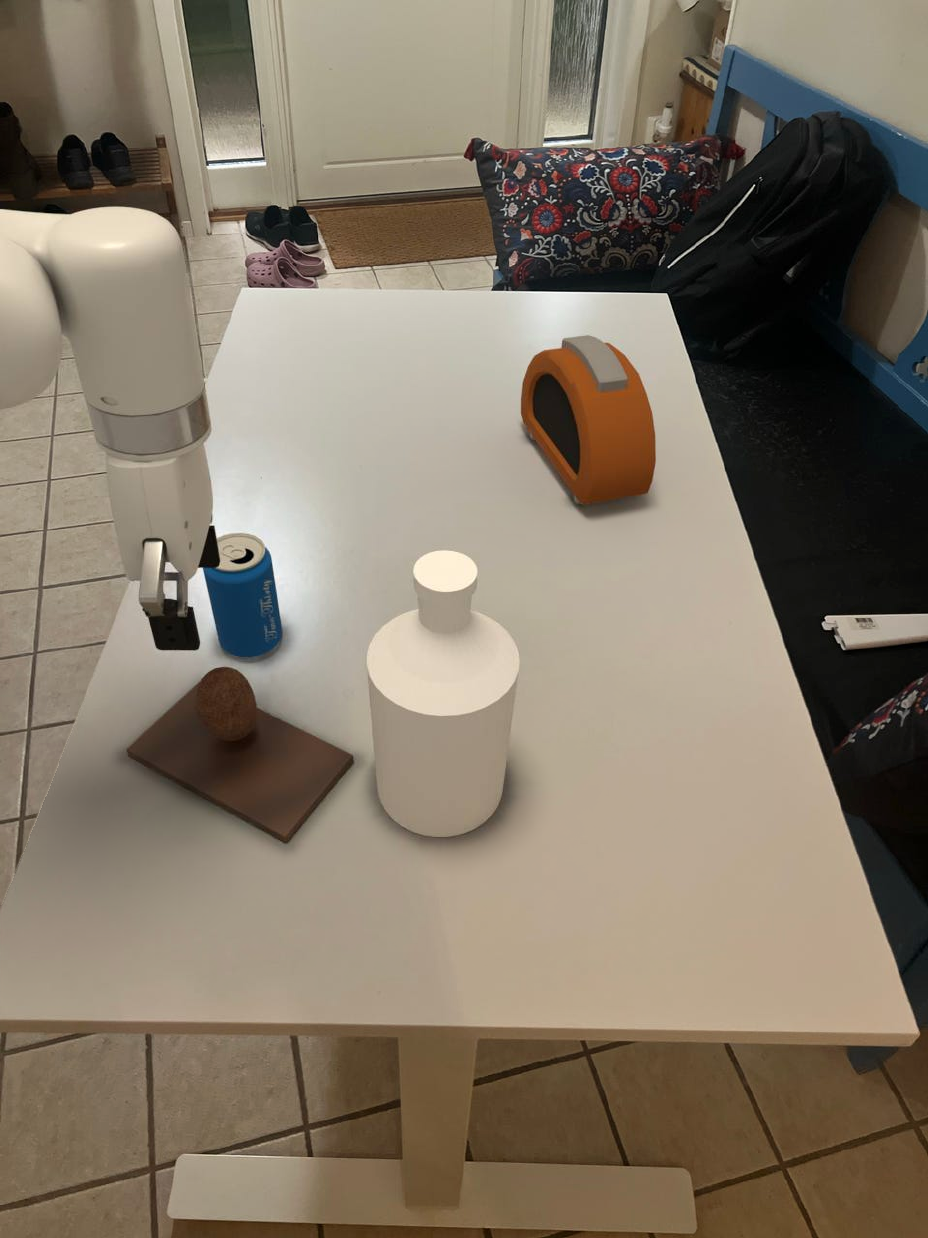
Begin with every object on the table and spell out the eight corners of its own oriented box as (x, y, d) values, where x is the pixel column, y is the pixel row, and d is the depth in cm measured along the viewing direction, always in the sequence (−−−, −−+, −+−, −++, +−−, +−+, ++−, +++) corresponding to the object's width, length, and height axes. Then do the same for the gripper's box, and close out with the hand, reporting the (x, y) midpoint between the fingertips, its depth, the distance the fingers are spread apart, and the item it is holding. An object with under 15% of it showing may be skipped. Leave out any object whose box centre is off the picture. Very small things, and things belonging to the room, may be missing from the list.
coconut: (272, 735, 82) (261, 675, 76) (223, 764, 79) (209, 705, 74) (241, 702, 85) (229, 643, 79) (194, 729, 82) (177, 670, 77)
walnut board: (128, 756, 81) (125, 749, 80) (202, 686, 87) (201, 679, 87) (286, 843, 75) (285, 837, 74) (354, 761, 81) (353, 755, 81)
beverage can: (254, 672, 89) (237, 581, 81) (206, 647, 91) (185, 556, 83) (296, 634, 93) (283, 545, 85) (249, 611, 95) (232, 522, 87)
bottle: (427, 712, 86) (428, 501, 69) (530, 771, 81) (560, 560, 64) (346, 794, 79) (326, 581, 62) (455, 864, 74) (466, 654, 57)
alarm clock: (516, 425, 125) (525, 310, 114) (574, 416, 127) (589, 303, 116) (583, 522, 109) (602, 400, 98) (649, 510, 111) (674, 389, 100)
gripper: (123, 351, 65) (164, 537, 76) (54, 486, 52) (115, 684, 64) (227, 354, 65) (252, 538, 77) (184, 488, 53) (221, 684, 64)
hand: (190, 604), depth 70 cm, fingers open, 9 cm apart
